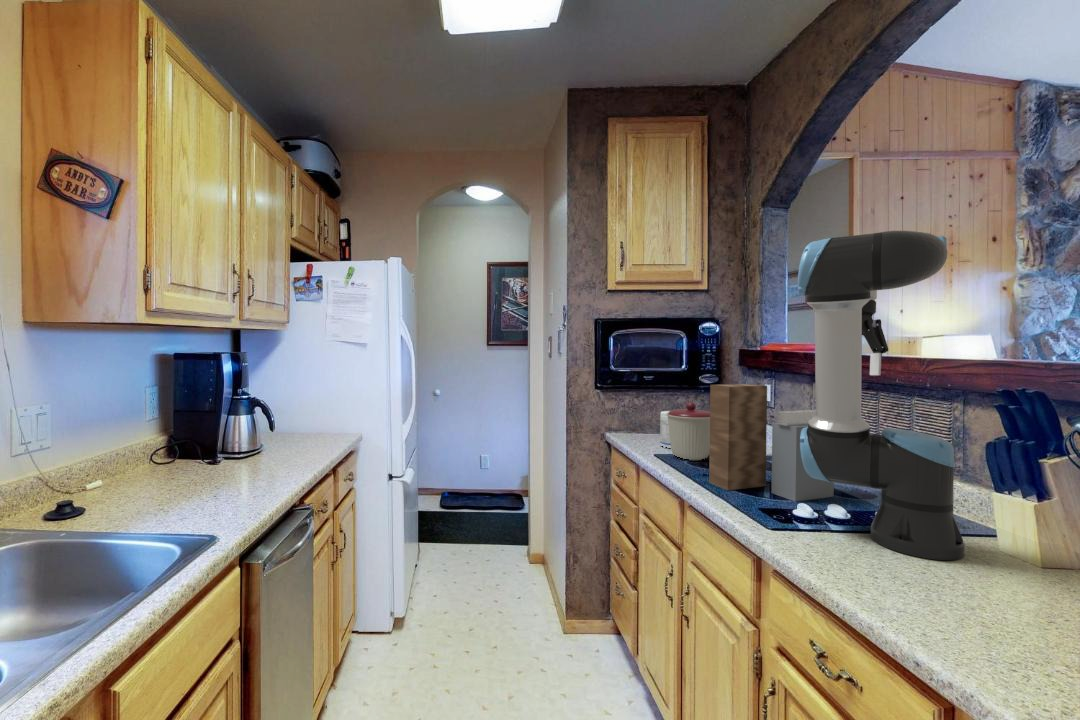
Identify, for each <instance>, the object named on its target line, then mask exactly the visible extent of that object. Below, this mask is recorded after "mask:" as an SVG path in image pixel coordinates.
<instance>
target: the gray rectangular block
mask: <svg viewBox="0 0 1080 720" xmlns="http://www.w3.org/2000/svg"><path fill="white" fill-rule="evenodd" d="M771 425H772V426H771V429H772V430H771V431H772V432H771V435H772V436H771V437H772V438H771V444H772V445H771V489H770V490H771V494H773V495H776V496H779V497H782V498H785V499H787V500H790V501H793V502H803V501H810V500H817V499H825V498H833V497H834V496H835V494H834V491H835V490H834V489H835V482H832V483H830V482H827V481H824V480H819V479H814V478H812V477H810V476H809V475H808V474H807V473H806V471H805V469H804V466H803V463H802V458H801V451H800V434H801V430H802V429H803V428H806V427H808V425H794V426H785V425H779V424H777V422H772V424H771Z"/></svg>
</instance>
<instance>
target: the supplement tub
mask: <svg viewBox="0 0 1080 720" xmlns="http://www.w3.org/2000/svg"><path fill="white" fill-rule="evenodd" d="M670 411H671V410H664V411H663V410H662V411H660V416H659V418H660V419H659V420H660V421H659V422H660V425H659V426H660V427H659V428H660V429H659V431H660V433H659V437H660V438H659V439H660V440H659V442H660V443H662V444H664V445H670V446H671V443H670V434H669V424H668V416H667V415H666V413H669V412H670ZM660 443H659V444H660Z"/></svg>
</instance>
